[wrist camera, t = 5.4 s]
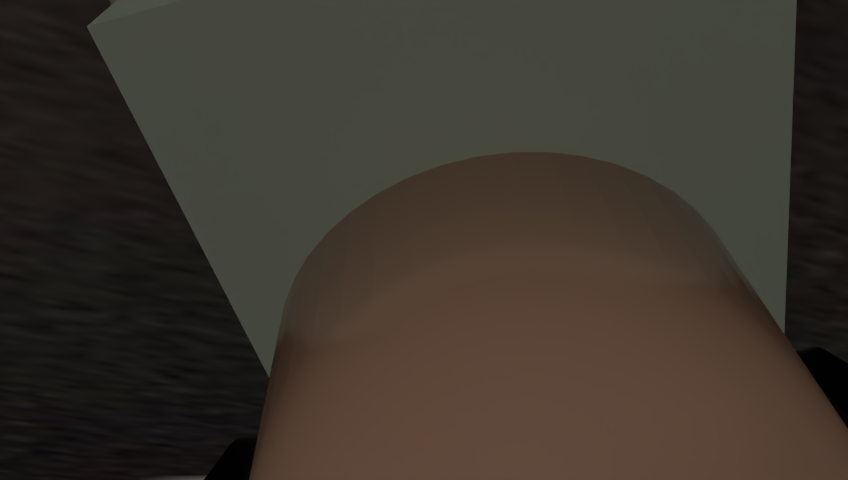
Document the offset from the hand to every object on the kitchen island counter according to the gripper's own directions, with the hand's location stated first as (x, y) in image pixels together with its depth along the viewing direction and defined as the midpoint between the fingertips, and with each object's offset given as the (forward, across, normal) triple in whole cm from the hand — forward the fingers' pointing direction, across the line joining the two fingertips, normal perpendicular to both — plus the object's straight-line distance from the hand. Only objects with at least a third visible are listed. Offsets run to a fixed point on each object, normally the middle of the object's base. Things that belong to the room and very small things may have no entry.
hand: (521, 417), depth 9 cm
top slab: (+6, 0, 0) cm, 6 cm away
